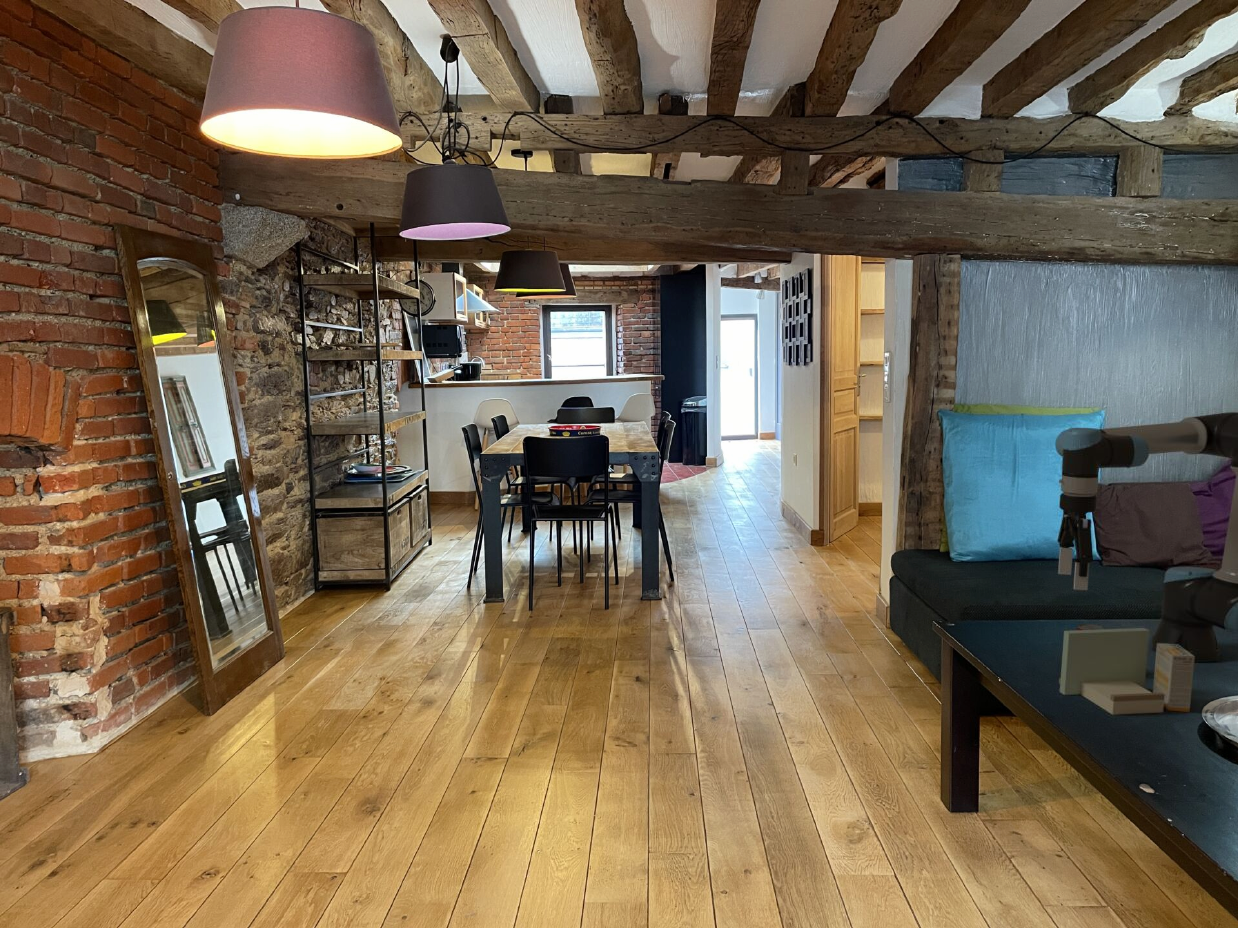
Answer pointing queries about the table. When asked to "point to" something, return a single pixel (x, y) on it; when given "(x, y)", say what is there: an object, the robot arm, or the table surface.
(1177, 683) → the supplement box
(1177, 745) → the table surface
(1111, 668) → the wall board
